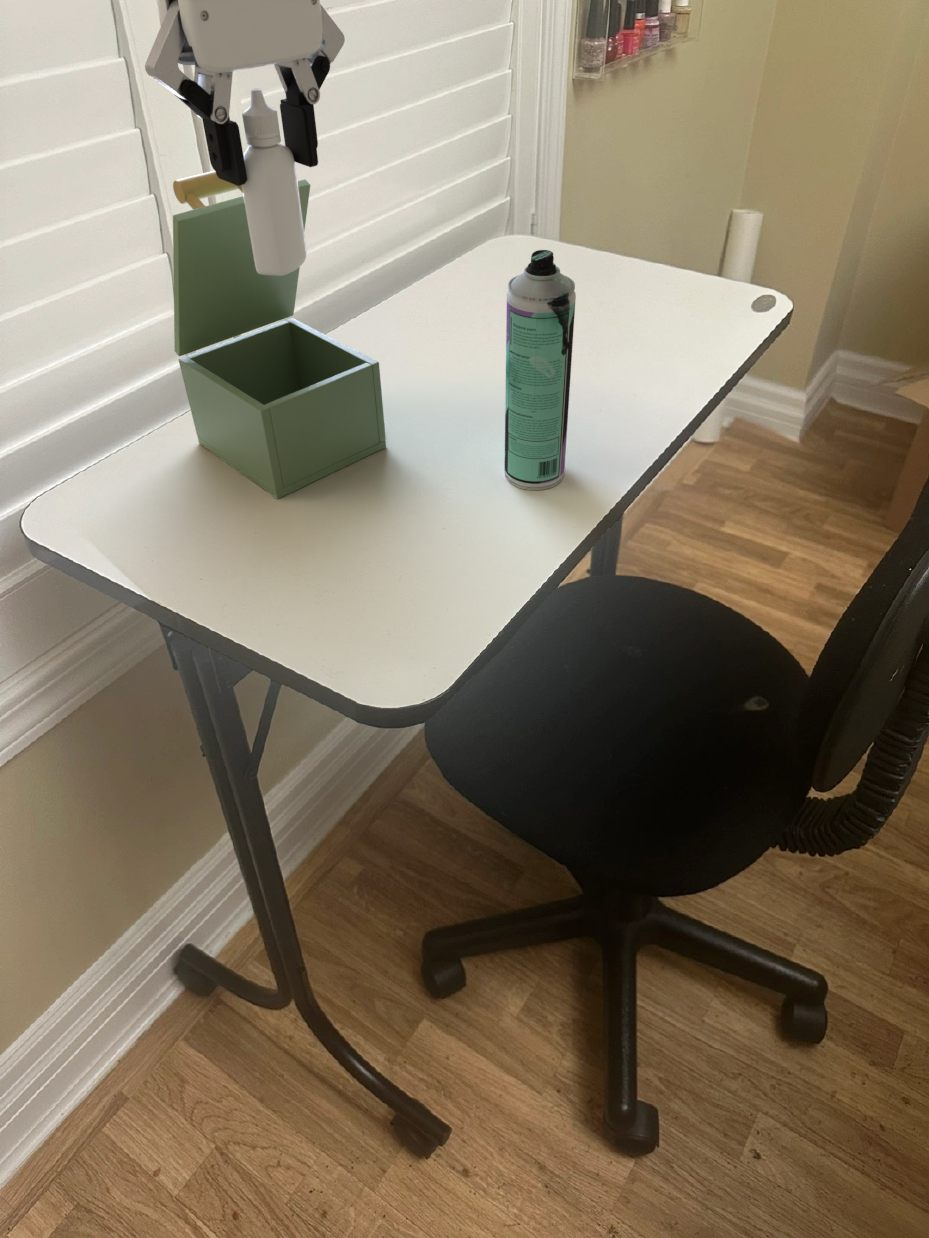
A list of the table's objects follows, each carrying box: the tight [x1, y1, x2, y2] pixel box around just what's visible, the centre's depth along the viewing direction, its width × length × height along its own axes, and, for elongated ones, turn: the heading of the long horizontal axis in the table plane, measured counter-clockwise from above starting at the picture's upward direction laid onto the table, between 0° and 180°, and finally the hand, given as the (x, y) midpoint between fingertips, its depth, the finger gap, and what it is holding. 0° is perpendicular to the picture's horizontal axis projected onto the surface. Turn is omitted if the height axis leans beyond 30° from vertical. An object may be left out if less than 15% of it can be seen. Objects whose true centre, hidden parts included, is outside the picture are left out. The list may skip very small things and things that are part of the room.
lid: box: [172, 170, 311, 357], centre depth 80 cm, size 14×13×6 cm
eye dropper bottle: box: [241, 87, 307, 276], centre depth 66 cm, size 4×6×12 cm
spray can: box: [504, 249, 577, 491], centre depth 76 cm, size 6×6×20 cm
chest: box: [178, 317, 387, 500], centre depth 85 cm, size 14×13×9 cm
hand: (267, 169), depth 66 cm, fingers closed on eye dropper bottle, 5 cm apart
